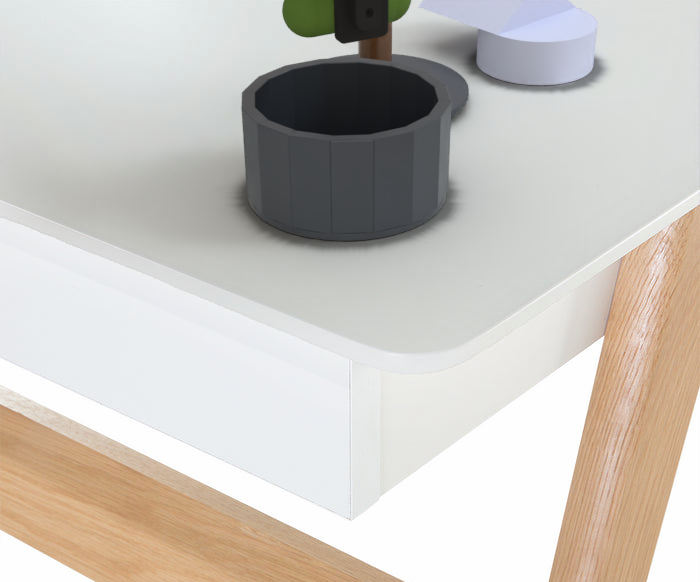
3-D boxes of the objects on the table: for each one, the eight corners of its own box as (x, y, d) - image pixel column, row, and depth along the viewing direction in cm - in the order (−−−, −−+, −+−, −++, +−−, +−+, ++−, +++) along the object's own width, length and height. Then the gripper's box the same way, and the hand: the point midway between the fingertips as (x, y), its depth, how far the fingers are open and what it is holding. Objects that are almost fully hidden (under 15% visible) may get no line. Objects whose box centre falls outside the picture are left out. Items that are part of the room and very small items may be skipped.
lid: (330, 156, 83) (328, 69, 79) (253, 86, 93) (249, 6, 89) (503, 118, 88) (509, 35, 84) (412, 55, 98) (414, -22, 94)
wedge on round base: (417, 48, 99) (539, 95, 91) (418, -36, 95) (546, 5, 87) (494, 21, 104) (616, 63, 96) (498, -60, 100) (627, -23, 92)
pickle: (296, 48, 70) (293, -4, 68) (275, 32, 72) (272, -19, 70) (420, 25, 73) (421, -26, 71) (396, 9, 75) (396, -40, 73)
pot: (296, 259, 71) (292, 157, 68) (218, 172, 81) (211, 78, 77) (483, 213, 76) (489, 114, 72) (389, 135, 85) (390, 45, 82)
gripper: (213, -337, 67) (236, -3, 77) (344, -304, 54) (350, 88, 65) (338, -346, 69) (344, -21, 80) (490, -316, 57) (473, 63, 68)
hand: (347, 25), depth 72 cm, fingers closed on pickle, 3 cm apart
